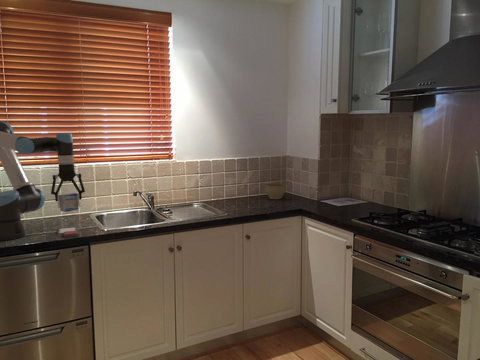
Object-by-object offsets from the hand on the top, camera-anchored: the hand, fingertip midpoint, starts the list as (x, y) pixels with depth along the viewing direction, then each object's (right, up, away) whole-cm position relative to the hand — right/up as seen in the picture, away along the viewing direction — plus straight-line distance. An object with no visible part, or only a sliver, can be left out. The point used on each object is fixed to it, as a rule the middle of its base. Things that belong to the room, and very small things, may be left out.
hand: (69, 206), depth 216 cm
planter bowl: (+116, 0, +102) cm, 154 cm away
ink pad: (0, -15, +2) cm, 15 cm away
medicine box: (0, -2, 0) cm, 2 cm away
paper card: (-5, -14, +11) cm, 19 cm away
